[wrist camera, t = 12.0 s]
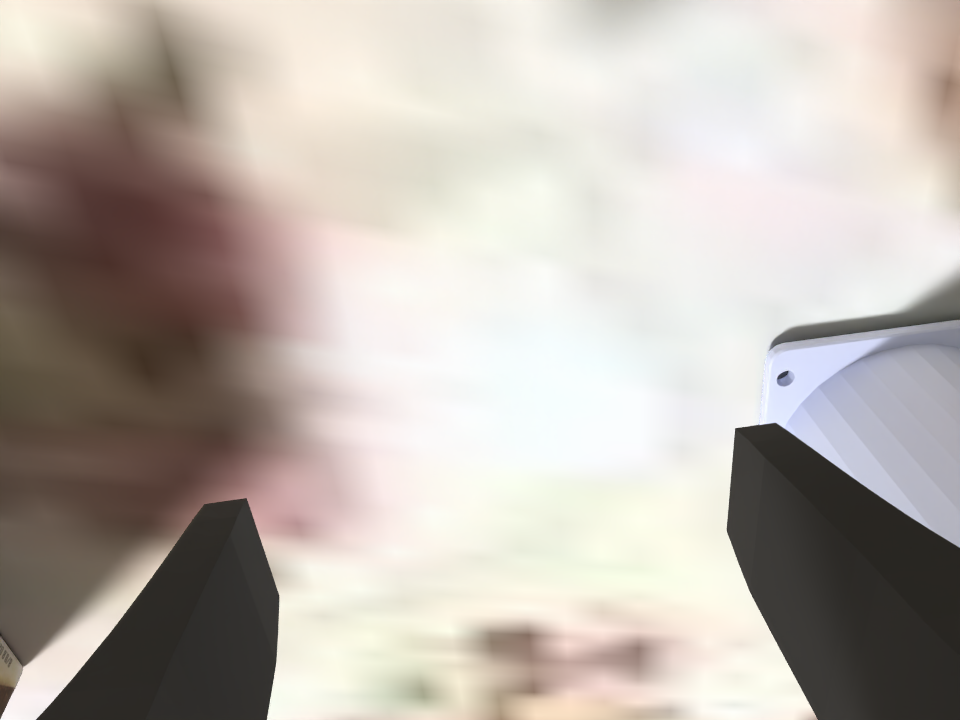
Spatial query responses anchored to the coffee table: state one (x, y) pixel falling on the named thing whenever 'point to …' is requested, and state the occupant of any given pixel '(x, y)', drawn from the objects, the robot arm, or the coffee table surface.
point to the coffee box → (7, 674)
